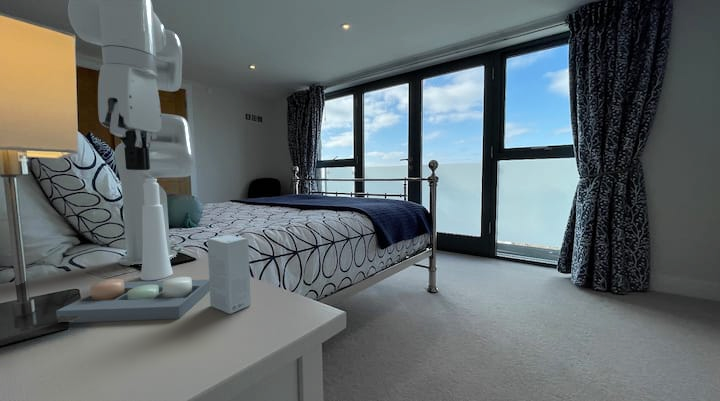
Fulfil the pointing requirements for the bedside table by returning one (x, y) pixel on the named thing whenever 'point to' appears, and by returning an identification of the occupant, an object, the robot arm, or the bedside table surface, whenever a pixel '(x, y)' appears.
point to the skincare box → (229, 273)
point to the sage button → (143, 292)
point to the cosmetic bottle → (154, 235)
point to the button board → (135, 305)
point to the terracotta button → (107, 290)
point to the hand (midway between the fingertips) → (138, 169)
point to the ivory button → (177, 287)
